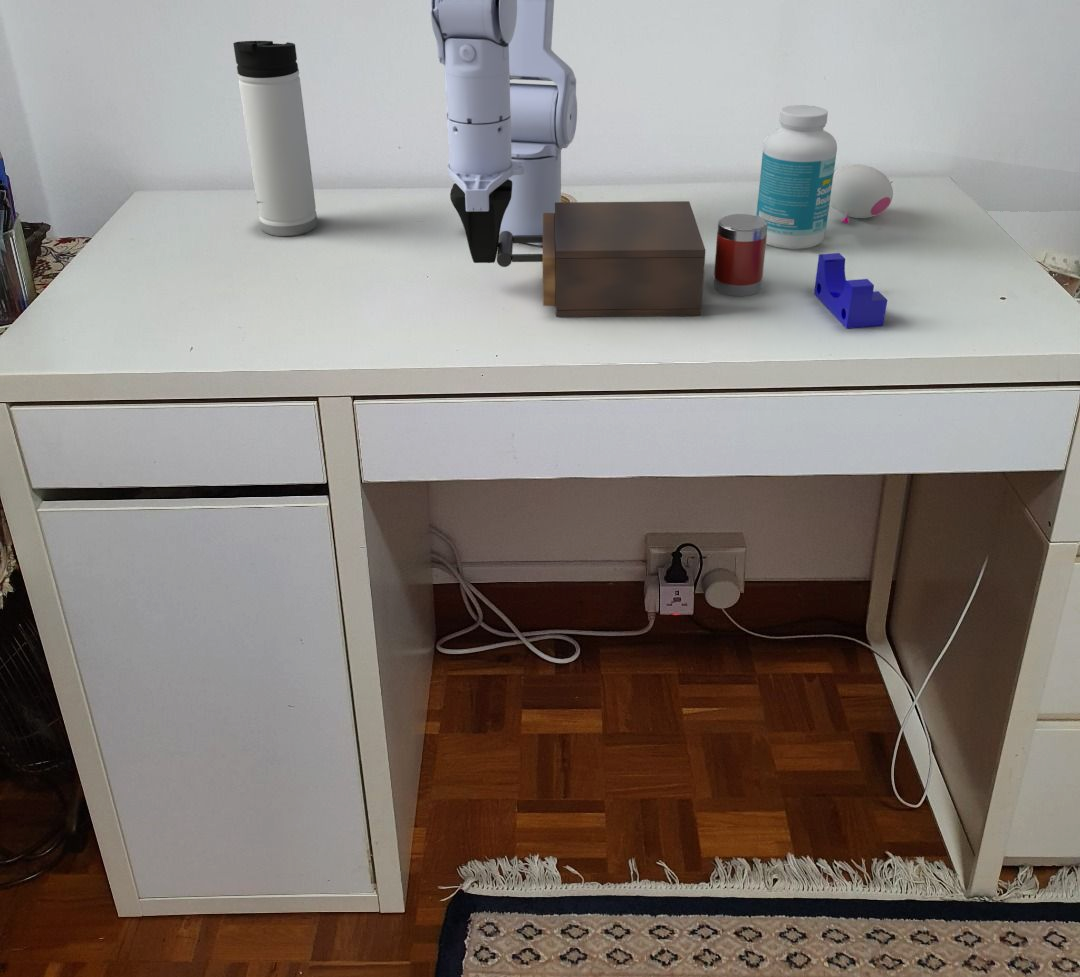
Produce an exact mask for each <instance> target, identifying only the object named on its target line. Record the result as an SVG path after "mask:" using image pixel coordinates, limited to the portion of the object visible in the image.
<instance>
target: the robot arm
mask: <svg viewBox="0 0 1080 977" xmlns="http://www.w3.org/2000/svg"><path fill="white" fill-rule="evenodd" d="M554 10H555V0H430V22H431V26H432V31H433V35H434V37H435V40H436V47H437V58H438V61H439V64H442V65H443V69H444V87H445V88H444V89H445V106H446V108H445V109H446V123H447V126H446V127H447V143H448V158H449V160H448V161H449V162H448V165H447V176H448V177H449V178H450V179H451V180H452V182H454V183H453V184H452V188H451V189H450V193H449V198H450V199H449V200H450V202H451V205H452V206H453V208H454V209H455V211H456V213H457V214H458V216H459V218H460V221H461V223H462V227H463V229H464V232H465V236H466V240H467V245H468V249H469V253H470V256H471V259H472V262H473V263H474V264H494V263H495V262H496V260H497V252H498V242H499V235H500V233H501V232H503V231H509V232H511V233H512V235H543V213H555V202H562V150H563V149H567V148H568V147H569V145H570V144H572V142H573V141H574V139H575V135H576V130H577V122H578V99H577V77H576V75H575V73H574V70H573V69H572V67H570V65H568V63H566V62H565V61H564V60H563V59H562V58H560V57H559V56H558V55H557V54H556V53H555V52H554V51H553V49H552V45H553V44H552V43H553V28H554V27H553V26H554ZM512 80H520V81H523V80H524V81H541V82H542V81H543V82H553V83H554V84H541V83H539V84H538V83H521V82H519V83H517V82H511V81H512ZM527 244H529V245H533V246H539V247H541V246H542V247H543V243H527Z"/></svg>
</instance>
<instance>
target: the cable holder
mask: <svg viewBox="0 0 1080 977" xmlns="http://www.w3.org/2000/svg"><path fill="white" fill-rule="evenodd" d="M816 266H817V267H816V275H815V282H814V290H813V295H814V296H815V297H816V298H817V299H818V300H819V302H821V304H822V305H823V306H824V307H825V308H826V310H828V311H829V312H830V313H831V314H832V316H834V317H835V318H836V320H838V321H839V323H841V325H842V326H843V327H844V328H845V329H860V328H870V327H880V326H881V327H882V326H884V323H885V317H886V313H887V312H886V311H887V305H888V298H886V296H884V294H882V293H881V292H880V291H879V290H875V291H874V288H875V285H874V283H872V282H871V281H870V280H869V279H868V278H860V279H849V280H847V279H846V257H845V256H843V255H842V254H841V253H840V252H831V253H821V254H820V253H819V254H818V260H817V265H816Z"/></svg>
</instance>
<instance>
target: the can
mask: <svg viewBox="0 0 1080 977" xmlns="http://www.w3.org/2000/svg"><path fill="white" fill-rule="evenodd" d="M767 225H768V224H767V222H766V221H765V220H764V219H763V218H761V217H758V216H756V215H753V214H746V213H734V214H733V213H732V214H728V215H724V216H723V217H721V218H720V219H719V220H718V222H717V230H716V231H717V232H716V241H715V242H716V244H715V255H714V268H713V283H712V284H713V286H712V287H713V289H714V290H715V291H717V292H718V293H720V294H723V295H725V296H732V297H748V296H753V295H756V294H758V293H759V292H760V291H761V289H762V284H763V277H764V276H763V275H764V266H765V257H766V247H767V244H766V238H767Z"/></svg>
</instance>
